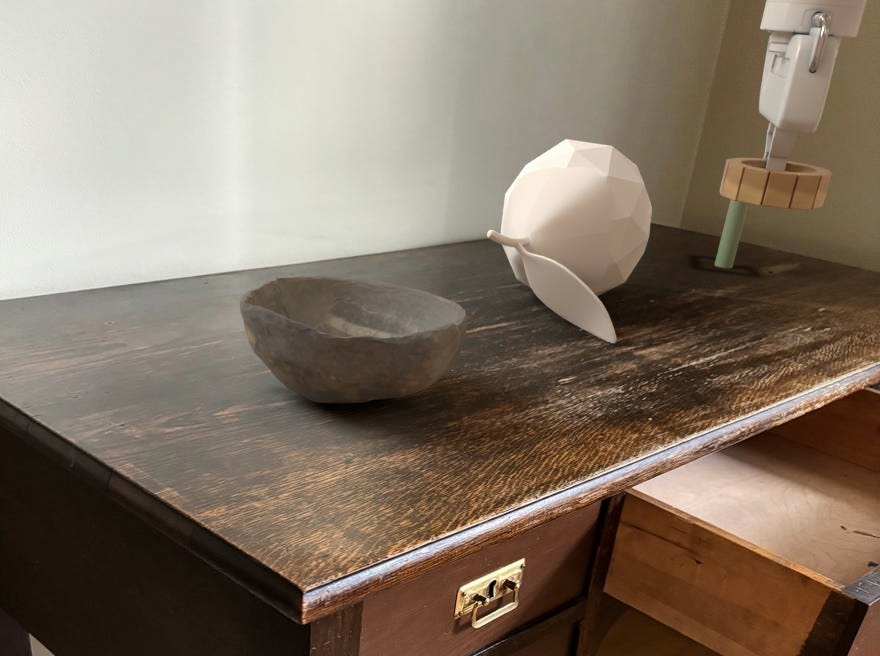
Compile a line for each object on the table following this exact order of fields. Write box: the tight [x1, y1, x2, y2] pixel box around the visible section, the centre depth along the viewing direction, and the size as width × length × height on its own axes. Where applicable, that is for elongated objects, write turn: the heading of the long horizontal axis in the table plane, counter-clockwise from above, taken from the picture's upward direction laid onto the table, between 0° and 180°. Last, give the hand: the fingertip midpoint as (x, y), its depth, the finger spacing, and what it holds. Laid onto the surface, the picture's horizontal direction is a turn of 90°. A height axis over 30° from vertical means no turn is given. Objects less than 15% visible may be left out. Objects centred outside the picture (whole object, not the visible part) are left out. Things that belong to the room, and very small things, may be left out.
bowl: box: [239, 275, 468, 404], centre depth 78 cm, size 18×18×8 cm
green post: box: [714, 199, 750, 269], centre depth 128 cm, size 8×8×14 cm
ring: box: [719, 157, 833, 210], centre depth 95 cm, size 10×10×3 cm
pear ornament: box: [486, 138, 653, 344], centre depth 105 cm, size 16×22×28 cm
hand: (771, 174), depth 98 cm, fingers closed on ring
